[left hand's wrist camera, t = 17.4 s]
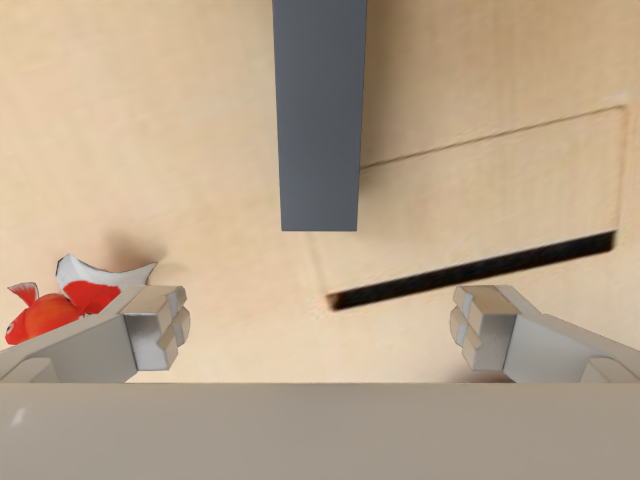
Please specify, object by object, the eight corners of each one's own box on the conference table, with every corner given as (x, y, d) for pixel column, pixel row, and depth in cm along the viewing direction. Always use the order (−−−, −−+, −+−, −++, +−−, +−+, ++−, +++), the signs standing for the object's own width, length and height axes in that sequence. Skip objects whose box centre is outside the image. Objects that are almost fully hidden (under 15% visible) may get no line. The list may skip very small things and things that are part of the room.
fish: (-36, 253, 32) (-72, 333, 25) (140, 208, 37) (150, 264, 31) (28, 322, 39) (14, 400, 32) (169, 276, 44) (183, 334, 37)
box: (347, 200, 35) (356, 231, 26) (291, 200, 35) (281, 231, 26) (359, -147, 25) (380, -284, 17) (281, -148, 25) (260, -285, 16)
